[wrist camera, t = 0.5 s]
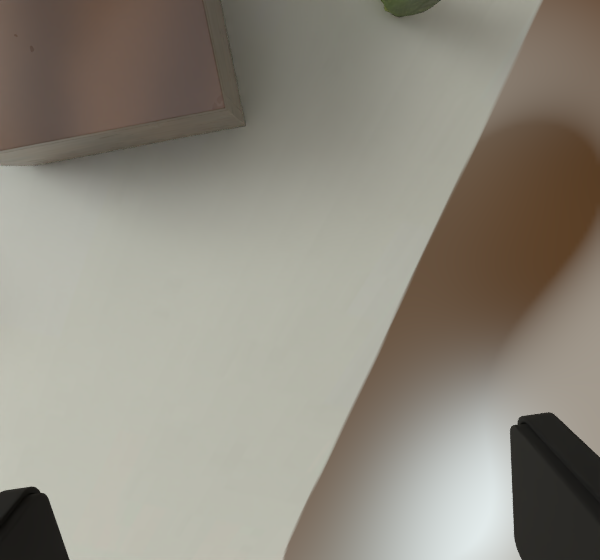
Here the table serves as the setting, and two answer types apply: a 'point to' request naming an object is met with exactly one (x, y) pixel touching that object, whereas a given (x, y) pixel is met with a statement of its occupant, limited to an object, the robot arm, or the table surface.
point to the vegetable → (408, 6)
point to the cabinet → (111, 76)
